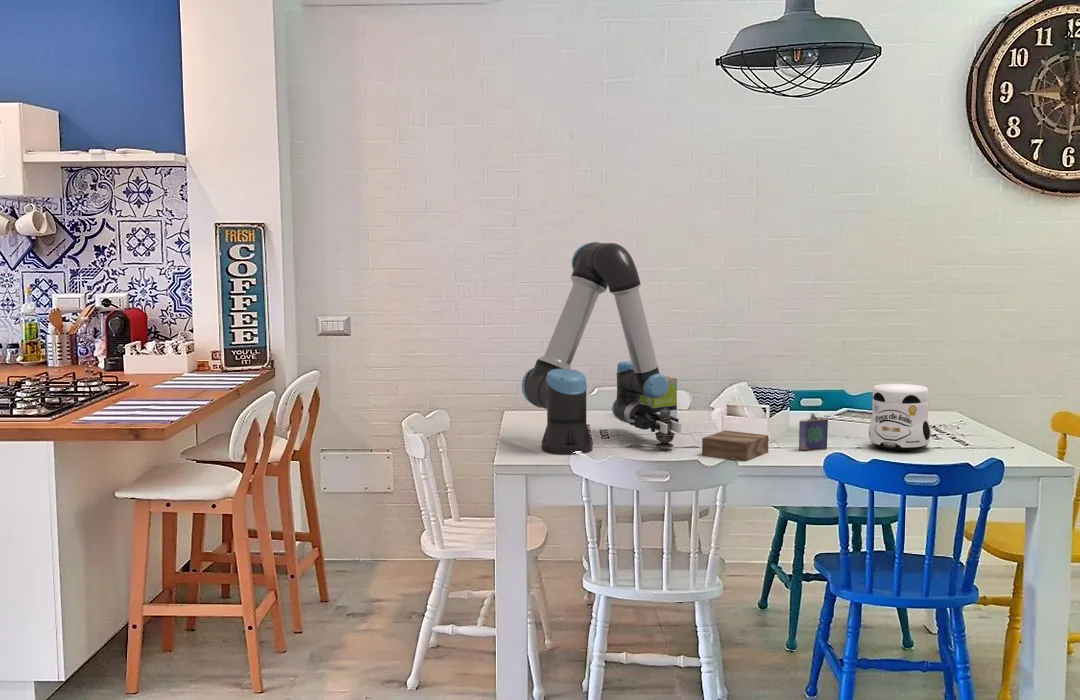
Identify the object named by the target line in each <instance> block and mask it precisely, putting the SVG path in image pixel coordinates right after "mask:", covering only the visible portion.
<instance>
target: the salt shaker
mask: <svg viewBox="0 0 1080 700" xmlns="http://www.w3.org/2000/svg"><path fill="white" fill-rule="evenodd" d="M659 421H660V422H663V423H665V424H668V426H667V434H664V433H662V432H660V431H657V432H654V435H655V438H656V441H658V443H656V444H655V447H658V448H673V447H674V446H675V445H674V444H673V443H672V441H673V440H674V439H675V435H676V434H675V433H676V432H672V430H670V422H671V420H670V410H669V409H667V408H666V406H665V408H664V409H662V410H661V411H660V420H659Z"/></svg>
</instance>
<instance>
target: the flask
mask: <svg viewBox="0 0 1080 700" xmlns="http://www.w3.org/2000/svg"><path fill="white" fill-rule="evenodd" d="M828 423H829V419H828V418H826V417H822V416H816V414H815V412H811V413H810V417H809V419H808V418H807V419H801V420H799V429H798V430H799V431H798V433H799V434H798V450H799V452H800V451H801V452H808V451H810V452H811V451H816V450H817V451H820V450H827V449H828V430H829V429H828V428H829V427H828V425H829V424H828Z"/></svg>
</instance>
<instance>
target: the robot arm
mask: <svg viewBox="0 0 1080 700" xmlns="http://www.w3.org/2000/svg"><path fill="white" fill-rule="evenodd" d="M571 267H572V273H571V275H570V279H571V282H572V287H571V290H570V292H569V294H568V297H567V299H566V302H565V303H564V306H563V309H562V311H561V314H560V316H559V318H558V321H557V323H556V326H555V328H554V331H553V332H552V333H553V334H552V336H551V338H550V340H549V343H548V346H547V348H546V351H545V353H544V355H543V356H540V357H538V358H537V359H536V362H535V364H534V367H533V368H531V369H529V370H527V372H526V373H525V374H524V375H523V377H522V381H521V391H522V394H523V397H524V398H525V399H526V401H528V402H529V403H531V404H532V405H533V406H535V407H538V408H542V409H545V410H546V418H547V419H546V422H547V423H546V428H545V429H544V430H545V431H544V433H543V437H542V439H541V450H542V452H545V453H549V454H556V455H572V454H571V453H573V452H575V451H582V452H585V453H584V454H586V453H588V452H591V451H593V440H592V437H591V434H590V431H589V428H588V424H587V389H588V385H587V380H586V379H587V378H586V375H585V374H584V373H583V372H582V371H579V370H577V369H571V365H572V361H573V359H574V357H575V354H576V352H577V349H578V347H579V345H580V342H581V341H582V338H583V334H584V332H585V330H586V327H587V325H588V323H589V320H590V319H591V315H592V312H593V310H594V308H595V305H596V303H597V300H598V298H599V295H601V294H603V293H605V292H606V291H607V289H608V290H609V293H610V294H612V295H613V296H614V300H615V303H616V308H617V311H618V315H619V318H620V323H621V326H622V330H623V335H624V338H625V341H626V346H627V349H628V353H629V358H630V360H629V361H628V360H627V361H626V360H625V361H619V362H618V363H617V365H616V366H617V368H616V369H617V370H616V399H615V400H614V402H613V403H612V407H611V411H612V414H613V415H614V417H615V418H616V419H618V420H619V421H621V422H622V423H627V424H629V425H631V426H634V427H635V428H636V429H639V430H649V429H650V432H651V433H656V431H657V432H659V431H660V432H662V433H664V434H667V426H668V424H665V423H663V422H660V421H659V420H660V414H657V413H656V412H655V410H654V409H653V408H652V407H650V406H648V405H645V404H643V403H640V396H641V395H643V396H646V397H649V398H661V397H662V396H664V395H665V394H666V392H667V390H668V381H667V379H666V378H665V377H664V376H665V375H664V374H661V373H660V370H659V366H658V363H657V358H656V353H655V349H654V346H653V341H652V338H651V333H650V329H649V325H648V322H647V318H646V313H645V310H644V307H643V306H644V305H643V302H642V298H641V294H640V289H639V288H640V287H641V279H640V276H639V275H640V274H639V272H638V270H637V266H636V264H635V261H634V259H633V258H632V255H631V253H630V252H629V251H628V250H627V249H626V248H625V247H624V246H622V245H621V244H618V243H615V242H608V243H607V242H596V241H595V242H594V241H593V242H589V243H588V242H587V243H585V244H582V245H581V246H579V247H578V248H577V249H576V250H575V252H574V254H573V255H572V259H571ZM663 375H664V376H663ZM670 420H671V422H670V430H671V432H672V431H673V432H674V433H676V434H677V433H678V434H681V432H682V424H681V423H680V422H679V418H678V417H677V418H674V417H672V416H670Z"/></svg>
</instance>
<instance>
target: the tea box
mask: <svg viewBox="0 0 1080 700" xmlns="http://www.w3.org/2000/svg"><path fill="white" fill-rule="evenodd" d="M662 375H663V376H664V377H665V378H666V379H667V381H668V390H667V392H666V394H665V395H664V396H662V397H661V398H649V397H646V396H643V395H641V396H640V403H643V404H645V405H648V406H650V407H652V408H653V409H654V410H655V412H656V413H657V414H660V411H661V410H662V409H664V408H665V406H666V408H667V409H669V410H670V416H672V417H674V418H677V419H678V417H677V416H678V380H677V377H672V376H669V375H664V374H662Z"/></svg>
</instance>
